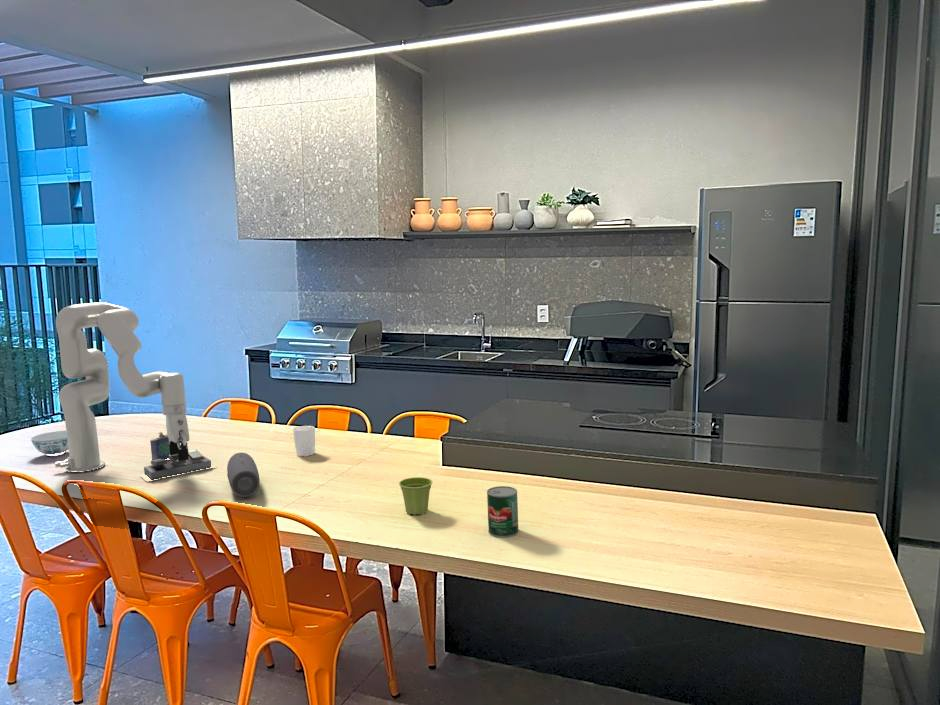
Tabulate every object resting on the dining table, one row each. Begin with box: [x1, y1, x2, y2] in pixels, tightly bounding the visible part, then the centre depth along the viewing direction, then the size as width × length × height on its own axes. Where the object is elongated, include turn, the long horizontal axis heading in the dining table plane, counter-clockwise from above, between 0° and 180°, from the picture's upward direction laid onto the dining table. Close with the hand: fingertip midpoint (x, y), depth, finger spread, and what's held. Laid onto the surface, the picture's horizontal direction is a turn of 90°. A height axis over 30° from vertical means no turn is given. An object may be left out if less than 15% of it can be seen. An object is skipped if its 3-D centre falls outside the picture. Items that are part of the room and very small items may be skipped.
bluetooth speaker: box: [226, 452, 260, 498], centre depth 227 cm, size 23×9×10 cm, turn 21°
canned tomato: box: [486, 485, 520, 538], centre depth 185 cm, size 8×8×11 cm
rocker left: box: [150, 459, 169, 466], centre depth 245 cm, size 4×7×1 cm, turn 39°
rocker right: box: [188, 449, 204, 461], centre depth 253 cm, size 4×7×1 cm, turn 39°
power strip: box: [143, 455, 212, 480], centre depth 249 cm, size 23×10×3 cm, turn 129°
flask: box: [149, 431, 170, 461], centre depth 264 cm, size 9×3×11 cm, turn 146°
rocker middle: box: [169, 454, 186, 465], centre depth 249 cm, size 4×7×1 cm, turn 39°
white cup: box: [292, 425, 316, 457], centre depth 266 cm, size 8×8×10 cm
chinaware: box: [30, 430, 69, 455], centre depth 278 cm, size 15×15×8 cm
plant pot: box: [398, 476, 433, 516], centre depth 202 cm, size 9×9×9 cm
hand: (179, 457), depth 247 cm, fingers open, 9 cm apart
